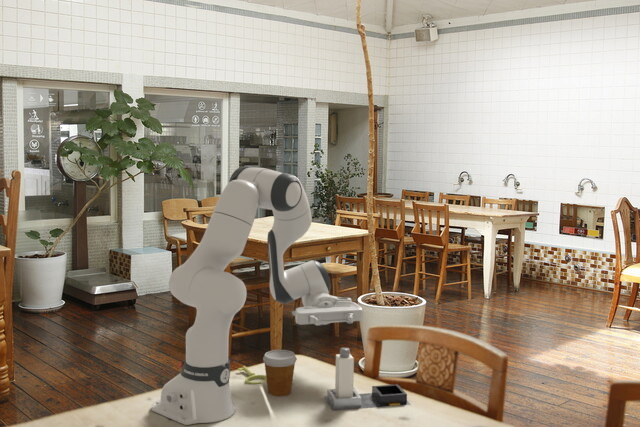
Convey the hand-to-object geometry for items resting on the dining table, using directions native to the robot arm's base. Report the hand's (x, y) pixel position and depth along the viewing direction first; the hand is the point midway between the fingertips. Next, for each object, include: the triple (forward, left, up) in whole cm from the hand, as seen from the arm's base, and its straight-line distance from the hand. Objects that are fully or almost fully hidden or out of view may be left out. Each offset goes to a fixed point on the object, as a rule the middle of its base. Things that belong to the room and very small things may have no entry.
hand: (334, 321), depth 199 cm
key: (-26, -4, -21) cm, 34 cm away
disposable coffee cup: (-11, -12, -20) cm, 26 cm away
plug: (+8, -9, -19) cm, 23 cm away
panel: (+13, -5, -20) cm, 24 cm away
